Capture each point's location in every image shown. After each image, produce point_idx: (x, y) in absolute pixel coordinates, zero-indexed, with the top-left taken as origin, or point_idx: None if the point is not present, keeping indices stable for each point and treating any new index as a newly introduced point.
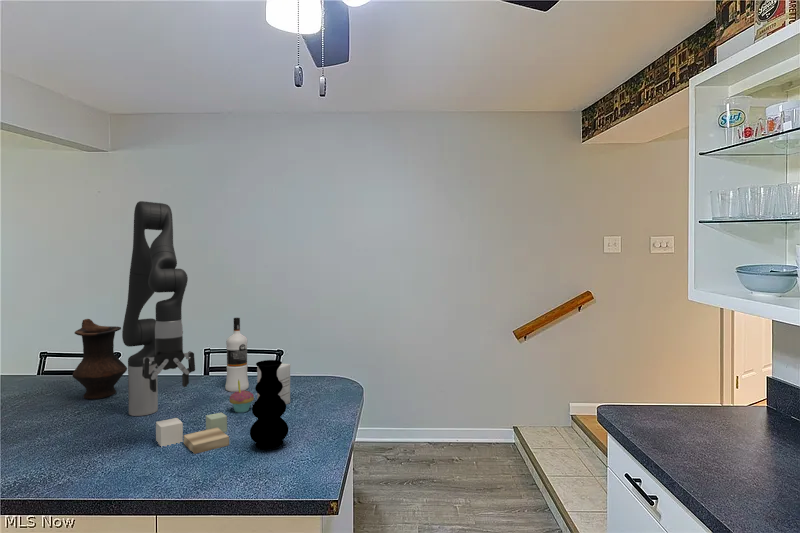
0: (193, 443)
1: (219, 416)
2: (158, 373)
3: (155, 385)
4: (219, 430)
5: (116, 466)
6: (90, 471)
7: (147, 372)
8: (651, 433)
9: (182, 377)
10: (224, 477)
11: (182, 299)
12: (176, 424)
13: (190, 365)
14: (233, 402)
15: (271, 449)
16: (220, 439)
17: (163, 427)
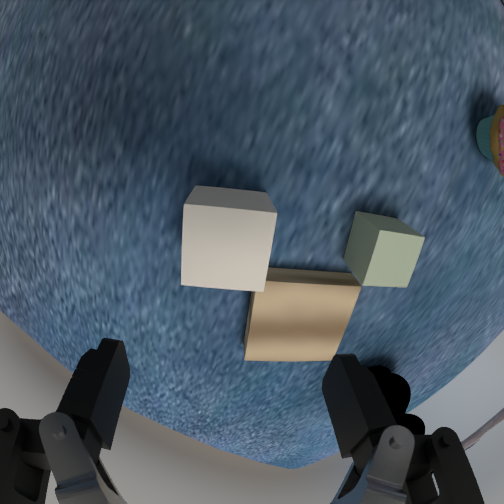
0: (248, 351)
1: (396, 273)
2: (121, 498)
3: (115, 411)
4: (348, 312)
5: (82, 292)
6: (42, 279)
7: (38, 486)
8: (473, 435)
9: (356, 407)
10: (240, 426)
11: None
12: (240, 288)
13: (409, 500)
14: (492, 148)
15: None
16: (310, 360)
17: (191, 284)
